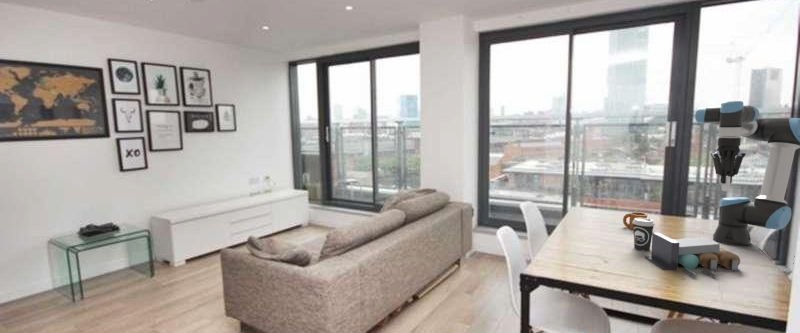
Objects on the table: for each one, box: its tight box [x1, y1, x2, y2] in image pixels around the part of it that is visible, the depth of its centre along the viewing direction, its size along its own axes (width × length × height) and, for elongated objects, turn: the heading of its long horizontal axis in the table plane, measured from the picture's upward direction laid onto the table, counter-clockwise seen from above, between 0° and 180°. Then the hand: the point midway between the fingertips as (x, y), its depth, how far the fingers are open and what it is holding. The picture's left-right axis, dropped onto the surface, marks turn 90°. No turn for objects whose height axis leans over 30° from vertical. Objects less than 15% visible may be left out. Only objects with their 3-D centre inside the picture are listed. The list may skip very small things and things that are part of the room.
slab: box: [672, 236, 721, 255], centre depth 175 cm, size 18×10×4 cm, turn 85°
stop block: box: [643, 232, 679, 271], centre depth 176 cm, size 6×15×12 cm, turn 175°
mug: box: [622, 211, 648, 231], centre depth 232 cm, size 9×12×9 cm
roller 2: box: [693, 252, 719, 269], centre depth 175 cm, size 14×7×7 cm, turn 175°
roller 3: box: [711, 247, 741, 269], centre depth 174 cm, size 14×7×7 cm, turn 175°
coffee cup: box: [632, 217, 656, 252], centre depth 196 cm, size 10×10×15 cm
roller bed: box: [682, 259, 741, 279], centre depth 171 cm, size 23×25×5 cm
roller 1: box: [678, 254, 699, 270], centre depth 176 cm, size 12×6×6 cm
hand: (725, 190), depth 174 cm, fingers closed
